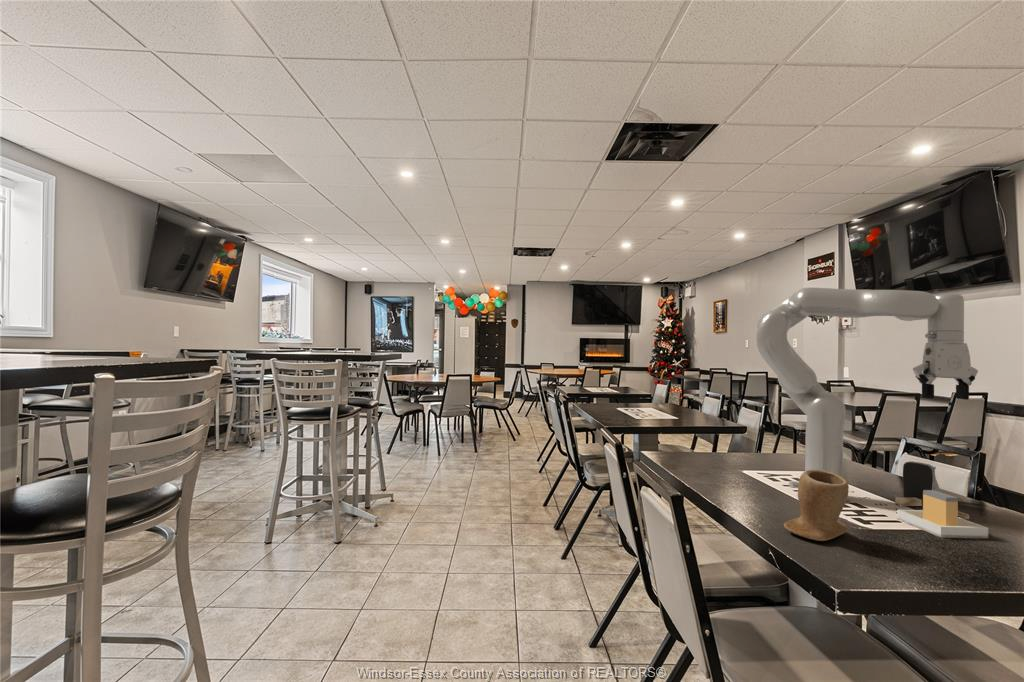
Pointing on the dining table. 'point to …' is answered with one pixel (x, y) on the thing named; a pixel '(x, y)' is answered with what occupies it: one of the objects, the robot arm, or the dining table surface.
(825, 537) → the stone cup
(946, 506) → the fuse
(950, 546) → the dining table surface
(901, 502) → the clip holder
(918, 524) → the tray
